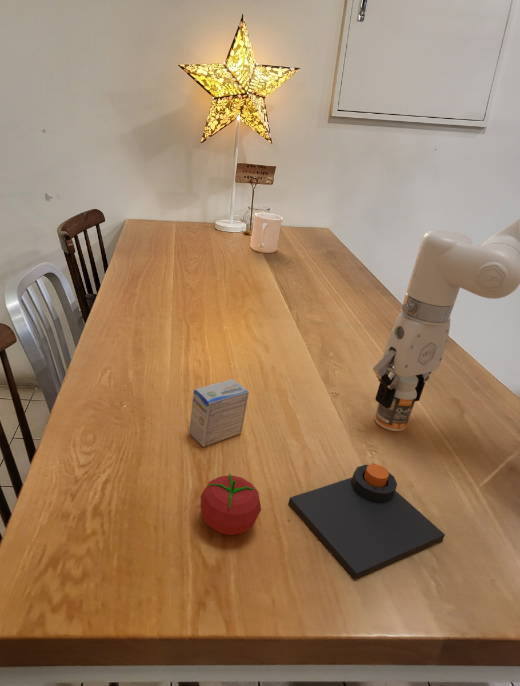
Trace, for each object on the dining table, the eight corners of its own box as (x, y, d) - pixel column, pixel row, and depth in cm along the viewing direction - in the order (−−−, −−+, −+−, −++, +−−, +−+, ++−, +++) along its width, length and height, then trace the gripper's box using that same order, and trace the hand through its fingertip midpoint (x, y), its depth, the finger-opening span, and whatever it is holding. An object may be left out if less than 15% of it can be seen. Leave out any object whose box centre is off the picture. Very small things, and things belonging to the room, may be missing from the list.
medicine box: (226, 420, 92) (232, 377, 88) (242, 434, 89) (249, 390, 85) (187, 433, 88) (193, 388, 84) (203, 448, 85) (209, 402, 81)
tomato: (191, 538, 68) (197, 492, 65) (203, 497, 75) (209, 453, 72) (253, 553, 67) (262, 507, 64) (260, 510, 74) (269, 466, 71)
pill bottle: (395, 436, 94) (411, 388, 90) (367, 420, 98) (381, 373, 93) (411, 426, 98) (427, 379, 93) (384, 411, 102) (398, 365, 97)
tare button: (375, 471, 81) (378, 461, 80) (390, 484, 78) (393, 475, 78) (359, 476, 79) (362, 466, 79) (374, 490, 77) (377, 480, 76)
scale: (371, 476, 84) (376, 460, 82) (442, 540, 73) (449, 524, 72) (287, 503, 76) (291, 487, 75) (354, 580, 66) (360, 563, 64)
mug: (275, 247, 192) (281, 214, 187) (278, 257, 182) (284, 222, 176) (249, 243, 192) (254, 211, 186) (250, 253, 181) (255, 219, 176)
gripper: (406, 323, 81) (376, 421, 89) (480, 312, 89) (446, 403, 97) (371, 303, 86) (346, 398, 94) (444, 295, 94) (414, 382, 103)
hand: (397, 400), depth 96 cm, fingers open, 6 cm apart
